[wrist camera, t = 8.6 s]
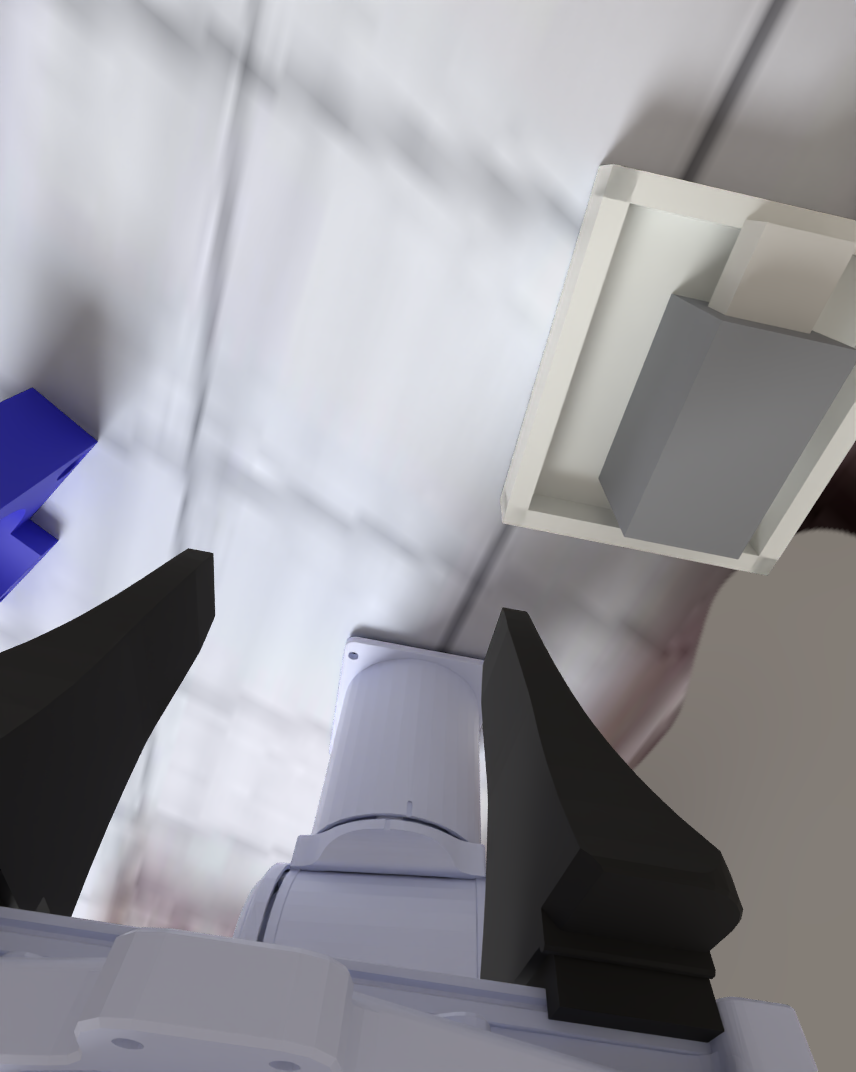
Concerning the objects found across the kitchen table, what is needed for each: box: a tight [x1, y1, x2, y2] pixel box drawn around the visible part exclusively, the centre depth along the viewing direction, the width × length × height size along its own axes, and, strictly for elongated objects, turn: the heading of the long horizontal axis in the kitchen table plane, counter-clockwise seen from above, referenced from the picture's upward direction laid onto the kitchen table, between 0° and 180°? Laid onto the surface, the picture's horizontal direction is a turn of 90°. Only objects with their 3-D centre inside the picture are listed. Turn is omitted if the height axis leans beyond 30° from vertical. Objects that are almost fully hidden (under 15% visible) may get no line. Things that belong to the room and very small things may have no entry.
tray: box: [500, 164, 856, 576], centre depth 20 cm, size 12×11×2 cm
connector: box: [598, 220, 856, 559], centre depth 18 cm, size 9×4×4 cm, turn 169°
